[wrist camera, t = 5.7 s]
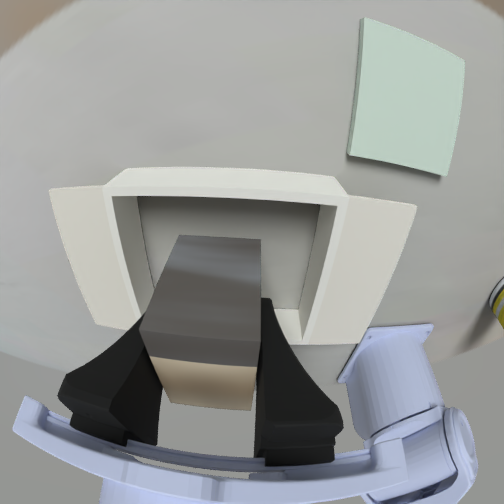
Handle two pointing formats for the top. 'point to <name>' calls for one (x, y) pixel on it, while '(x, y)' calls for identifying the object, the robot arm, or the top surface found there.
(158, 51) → the top surface
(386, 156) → the tile
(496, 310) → the supplement bottle
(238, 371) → the block
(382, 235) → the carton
